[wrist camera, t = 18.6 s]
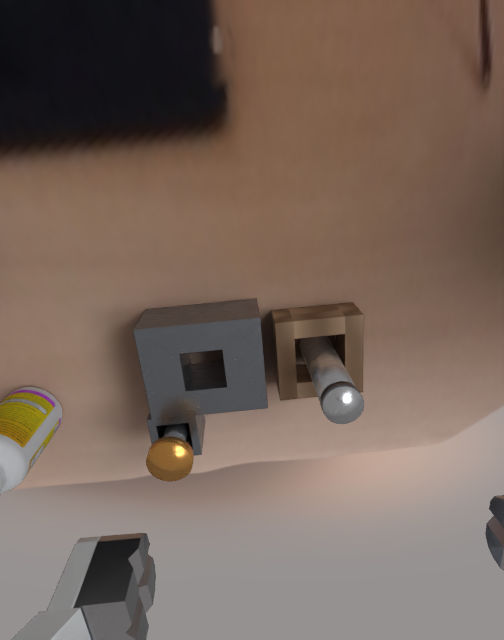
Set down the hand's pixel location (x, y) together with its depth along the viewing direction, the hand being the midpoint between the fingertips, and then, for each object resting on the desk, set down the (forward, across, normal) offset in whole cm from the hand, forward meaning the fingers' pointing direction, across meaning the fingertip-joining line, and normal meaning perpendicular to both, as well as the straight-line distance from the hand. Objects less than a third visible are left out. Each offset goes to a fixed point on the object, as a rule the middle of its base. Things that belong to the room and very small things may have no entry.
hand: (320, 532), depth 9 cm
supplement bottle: (+34, +27, +16) cm, 47 cm away
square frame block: (+34, -6, +11) cm, 36 cm away
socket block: (+34, +6, +12) cm, 37 cm away
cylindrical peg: (+34, -6, +11) cm, 36 cm away
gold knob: (+31, +10, +17) cm, 36 cm away
